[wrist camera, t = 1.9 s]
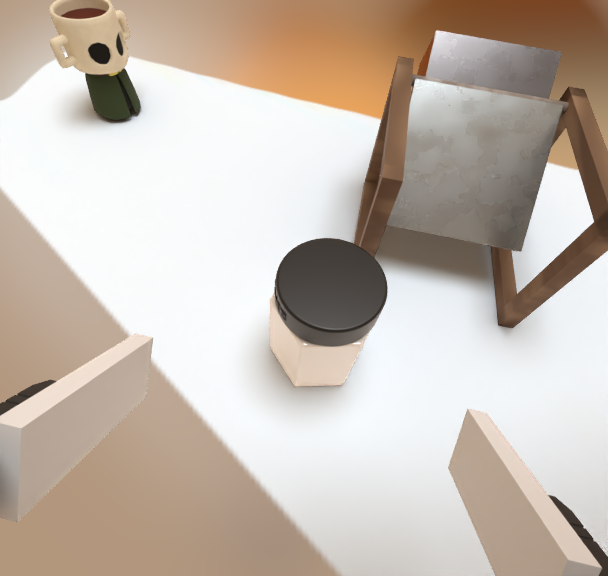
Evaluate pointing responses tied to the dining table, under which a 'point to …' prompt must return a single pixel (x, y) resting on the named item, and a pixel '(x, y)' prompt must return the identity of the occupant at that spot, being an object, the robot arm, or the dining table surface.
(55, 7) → the character mug
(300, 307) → the jar
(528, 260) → the dining table surface
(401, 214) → the trapdoor
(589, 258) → the trapdoor frame
